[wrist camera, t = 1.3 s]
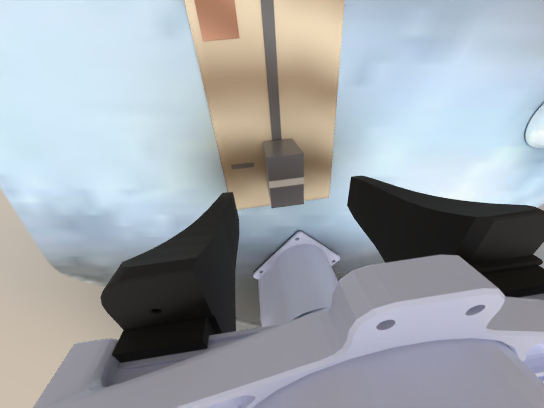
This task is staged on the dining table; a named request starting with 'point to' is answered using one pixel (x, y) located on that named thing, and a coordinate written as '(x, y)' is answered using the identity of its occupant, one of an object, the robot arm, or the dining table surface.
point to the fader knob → (284, 172)
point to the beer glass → (536, 129)
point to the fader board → (269, 85)
